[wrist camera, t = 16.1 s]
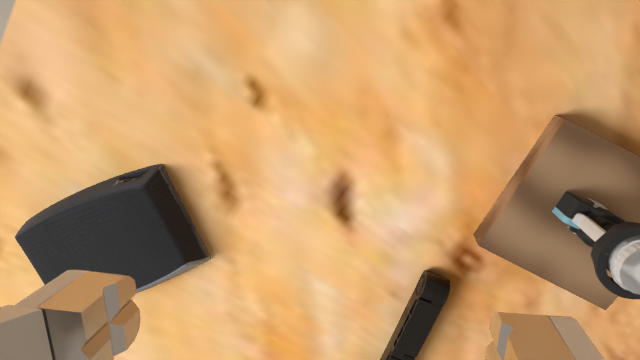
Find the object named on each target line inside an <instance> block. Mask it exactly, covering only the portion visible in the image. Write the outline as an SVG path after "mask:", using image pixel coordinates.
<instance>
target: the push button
mask: <svg viewBox="0 0 640 360" xmlns="http://www.w3.org/2000/svg"><path fill="white" fill-rule="evenodd" d="M588 199H589V200H590V201H591V202H593V203H594V205H593V206H591V205H589V204H587V203H586V202H584V201H583V200H581V199H580V198H578V197H577V196H575V195H574V194H571V193H569V192H567V191H566V192H565V193H564V195H563V196H562V198H561V199H560V200H559V202H558V203H557V205H556V206H555V208H554V209H553V210H552V212H553V213H554V214H555V215H556V216H557V217H558V218H559V219H560V220H561V221H563V222H564V223H566V224H568V225H570V227H569V226H568V228H569V230H570V231H571V232H573V233H575V234H577V236H578V237H579V238H580V239H581V240H582V241H583V242H584V243H585V244H586V245H588V246H590V247H592V251H591V258H592V261H593V264H594V268H595V273H596V275H597V278H598V279H599V281H600V282H601V283H602V285H603V286H604V287H605V288H606V289H608V290H609V291H610V292H612V293H613V294H615V295H618V296H620V297H623V298H628V299H640V223H636V222H626V221H625V220H623V219H622V218H620V217H618V216H616V215H614V214H613V213H612V212H610V211H608V210H607V208H606V207H604V206H603V205H601V204H600V203H598V202H596V201H594V200H592V199H590V198H588ZM607 270H608V271H609V272H610V273H611V274H612V277H613V278H612V277H609V276H608V274H607Z"/></svg>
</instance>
